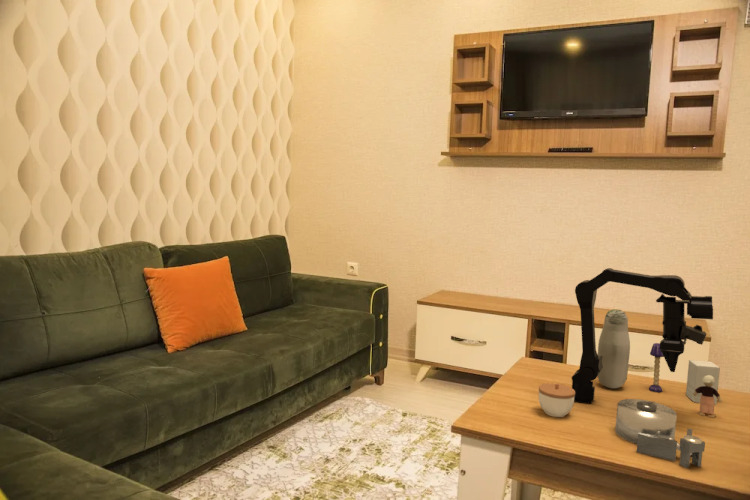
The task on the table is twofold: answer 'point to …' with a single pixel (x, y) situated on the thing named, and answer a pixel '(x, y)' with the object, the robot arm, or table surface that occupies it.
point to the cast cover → (644, 419)
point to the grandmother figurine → (707, 396)
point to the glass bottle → (614, 349)
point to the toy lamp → (656, 367)
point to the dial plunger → (680, 448)
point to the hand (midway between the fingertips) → (673, 368)
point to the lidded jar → (556, 399)
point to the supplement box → (701, 377)
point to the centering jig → (672, 448)
